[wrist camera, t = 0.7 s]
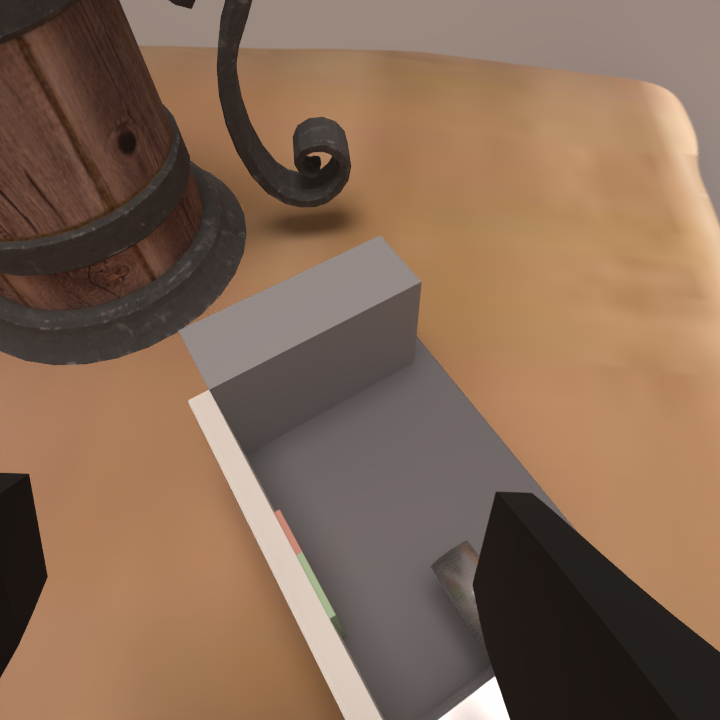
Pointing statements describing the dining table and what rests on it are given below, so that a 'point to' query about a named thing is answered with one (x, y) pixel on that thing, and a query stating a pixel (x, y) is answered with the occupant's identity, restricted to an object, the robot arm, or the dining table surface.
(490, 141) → the dining table surface
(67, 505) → the dining table surface
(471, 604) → the grey rectangular block
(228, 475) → the base
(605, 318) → the dining table surface
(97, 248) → the tankard
